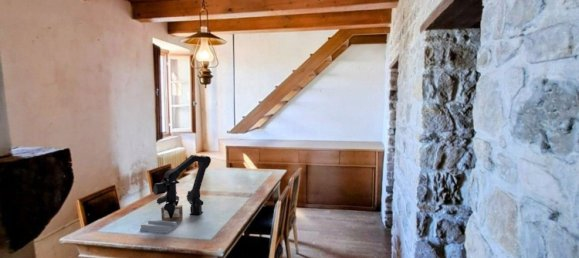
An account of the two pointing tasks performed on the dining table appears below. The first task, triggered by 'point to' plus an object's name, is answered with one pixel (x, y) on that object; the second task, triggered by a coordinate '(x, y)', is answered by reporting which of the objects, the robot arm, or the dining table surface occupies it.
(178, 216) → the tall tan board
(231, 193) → the dining table surface
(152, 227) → the display stand
